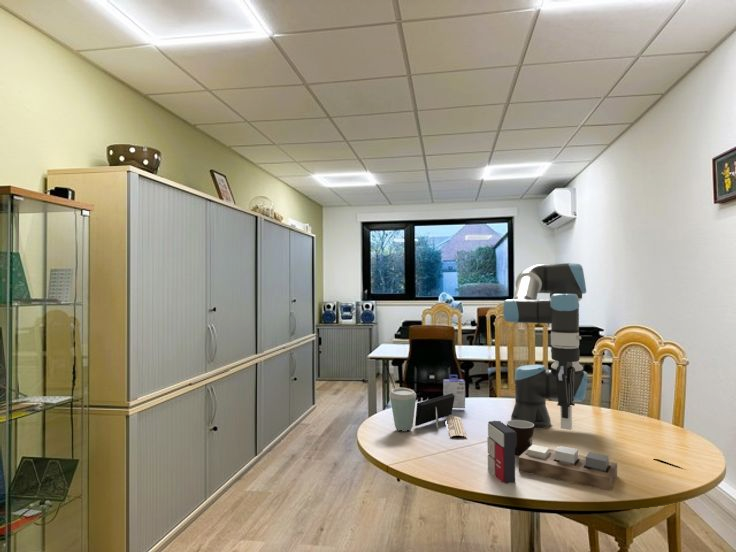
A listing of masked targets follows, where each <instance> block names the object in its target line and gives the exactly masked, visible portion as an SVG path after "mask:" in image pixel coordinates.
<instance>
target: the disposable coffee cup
mask: <svg viewBox="0 0 736 552" xmlns="http://www.w3.org/2000/svg"><path fill="white" fill-rule="evenodd" d="M388 396H389V398H390V405H391V411H392V415H393V422H394V427H395V429H398V430H397V431H399V430H402V431H401V432H408V431H407V430H409V431H411V430H412V429H413V425H414V417H415V408H416V402H417V400H416V399H417V393H416V392H415V390H414V389H411V388H407V387H394V388H392V389H390V393H389V394H388Z"/></svg>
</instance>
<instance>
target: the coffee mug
mask: <svg viewBox="0 0 736 552" xmlns="http://www.w3.org/2000/svg"><path fill="white" fill-rule="evenodd" d="M506 425H507V426H508V427H509V428H511V429H512V430H514V431H515V432H516V433H517V446H516V448H515V457H519V456H520V455H521V454H522V453H523V452H525V451H526V450H527V449H528V448H529V447H530V446H531V445H533V439H534V431H535V430H534V429H535V428H534V424H533V423H531V422H528V421H523V420H511V419H510V420H508V421H506Z"/></svg>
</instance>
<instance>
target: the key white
mask: <svg viewBox="0 0 736 552" xmlns="http://www.w3.org/2000/svg"><path fill="white" fill-rule="evenodd" d="M549 449H550V447H546V446H541V445H538V444H532V446H530V447H529V448H528V449H527V455H529V456H533V457H538V458H542V459H547V458H548V457H549V456H550V450H549Z"/></svg>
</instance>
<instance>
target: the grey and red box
mask: <svg viewBox="0 0 736 552" xmlns="http://www.w3.org/2000/svg"><path fill="white" fill-rule="evenodd" d="M487 436H488V437H487V441H486V442H487V470H488V471H489V473H491V474H492V475H493V476H495V478H497V480H499V481H500V482H501V483H502V484H514V483H515V484H516V456H515V448H516V446H517V433H516V432H515V431H514V430H512V429H511V428H509V427H508V426H507V424H505V423H504V422H502V421H501V420H493V421H492V420H491V421H488V423H487Z"/></svg>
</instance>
